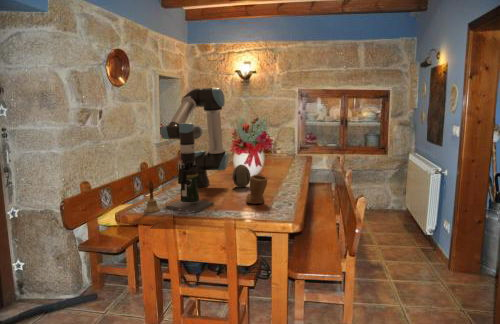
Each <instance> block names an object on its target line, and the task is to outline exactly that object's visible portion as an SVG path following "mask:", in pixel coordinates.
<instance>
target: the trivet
mask: <svg viewBox="0 0 500 324" xmlns="http://www.w3.org/2000/svg"><path fill="white" fill-rule="evenodd" d="M213 206H214V201H207V200H200V199H199V200H198V201H196V202H182V201H181V199H179V200H177V201H173V202H171V203H168V204H166V205H165V209H168V208H173V209H172V210H175V209H181V210H180V211H183V210H188V211H187V212H190V211H195V212H194V213H199V212H201V211H203V210H205V208H206V209H207V207H208V208H210V207H213ZM200 210H201V211H200ZM198 211H199V212H198Z"/></svg>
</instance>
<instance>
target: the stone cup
mask: <svg viewBox="0 0 500 324" xmlns="http://www.w3.org/2000/svg"><path fill="white" fill-rule="evenodd" d="M250 177H251V178H250V182H249V189H250V193H248V194H247V196H246V199H245V200H246V203H248V204H254V205H256V204H263V203H264V201H265V196H264V193H265V190H266V188H267V185H268V178H267V177H265V176H264V175H260V174H254V175H251V176H250Z"/></svg>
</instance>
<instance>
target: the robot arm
mask: <svg viewBox="0 0 500 324" xmlns="http://www.w3.org/2000/svg"><path fill="white" fill-rule="evenodd" d="M225 103H226V102H225V94H224V92H223V90H222V89H221V88H220V87H198V88H194V89H192V90H190V91H188V92H187V93H185V95H184V96H183V97H182V99H181V101H180V105H179V107H178V108H177V111H175V113H174V115H173V117H172V119H171V120H170V122H169V123H168V125H162V126H161V128H160V135H161V138H162V139H163V140H179V148H180V149H179V151H180V160H181V161H182V163H181V164H178V178H177V183H178V184H179V185H180V191H181V190H182V196H187V186H186V184H185V182H186V178H187V177H186V173H184V169H187V170H186V171H188V170H189V168H190V167H196V168H197V171H198V176H197V186H198V188H205V187H209V186H210V185H211V184H210V183H211V182H210V179H209V176H208V174H207V173H208V172H207V171H225V170H226V169H228V165H229V159H230V158H229V157H230V156H229V153H228V152H226V149H225V148H224V147H223V134H222V123H221V122H222V121H221V120H222V119H221V111H222V110H223V107H225ZM196 108H203V111H204V112H205V113H206V121H207V133H208V134H207V135H208V144H209V145H208V146H209V149H208V150H207V151H206V149H205V150H204V149H202V150H198V151H197V150H196V149H195V140H197V139H199V138H201V137H202V134H203V129H202V127H201V126H200V125H197V124H194V123H193V122H187V120H188V118H189V117H190V115H191V113H192V111H194V110H195V109H196ZM183 181H184V182H183Z"/></svg>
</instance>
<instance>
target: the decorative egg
mask: <svg viewBox="0 0 500 324" xmlns="http://www.w3.org/2000/svg"><path fill="white" fill-rule="evenodd" d="M251 177H252V176H251V172H250V170H249V168H248V167H247V165H244V164H239V165H236V167H235V168H234V169H233V172H232V181H233V183H234V185H235V186H236V187H238V188H245V187H247V186H248V185H250V179H251Z"/></svg>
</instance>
